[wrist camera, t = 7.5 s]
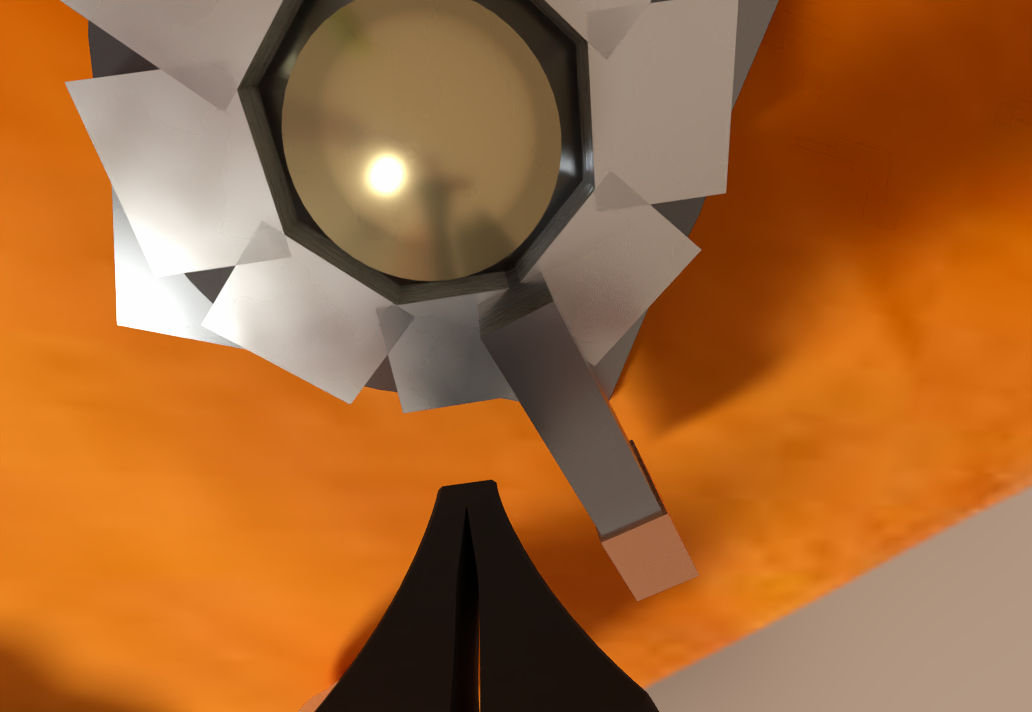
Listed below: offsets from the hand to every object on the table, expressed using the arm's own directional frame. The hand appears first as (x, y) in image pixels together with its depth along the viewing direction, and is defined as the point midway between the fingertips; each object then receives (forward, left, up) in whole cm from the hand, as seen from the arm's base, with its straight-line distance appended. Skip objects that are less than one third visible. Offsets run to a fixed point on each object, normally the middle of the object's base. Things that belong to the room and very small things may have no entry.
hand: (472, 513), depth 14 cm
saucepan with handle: (0, +7, -2) cm, 7 cm away
